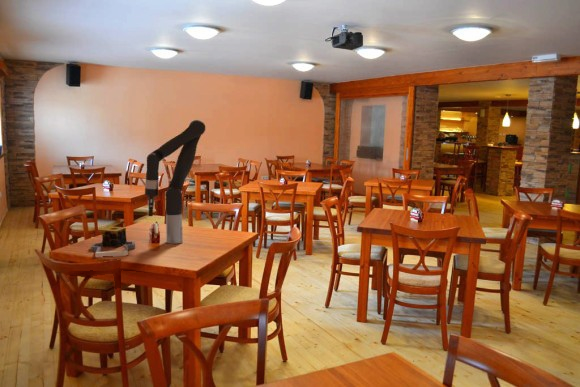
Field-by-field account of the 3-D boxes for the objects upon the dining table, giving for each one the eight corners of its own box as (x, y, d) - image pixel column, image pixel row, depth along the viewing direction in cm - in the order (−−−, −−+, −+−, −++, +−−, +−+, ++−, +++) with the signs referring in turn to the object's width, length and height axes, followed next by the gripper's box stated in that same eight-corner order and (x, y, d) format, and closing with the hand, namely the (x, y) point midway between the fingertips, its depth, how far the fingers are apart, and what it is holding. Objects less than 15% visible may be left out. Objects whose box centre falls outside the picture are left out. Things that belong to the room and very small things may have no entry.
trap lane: (135, 245, 284) (135, 240, 283) (134, 255, 262) (134, 250, 262) (92, 247, 277) (92, 243, 277) (88, 257, 256) (88, 253, 256)
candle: (117, 248, 277) (117, 231, 275) (101, 247, 279) (100, 230, 277) (127, 243, 286) (126, 227, 285) (111, 242, 288) (111, 226, 287)
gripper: (158, 189, 278) (157, 217, 280) (158, 186, 291) (156, 212, 293) (144, 188, 276) (143, 216, 278) (145, 185, 289) (144, 212, 291)
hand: (150, 214), depth 286 cm, fingers open, 8 cm apart
